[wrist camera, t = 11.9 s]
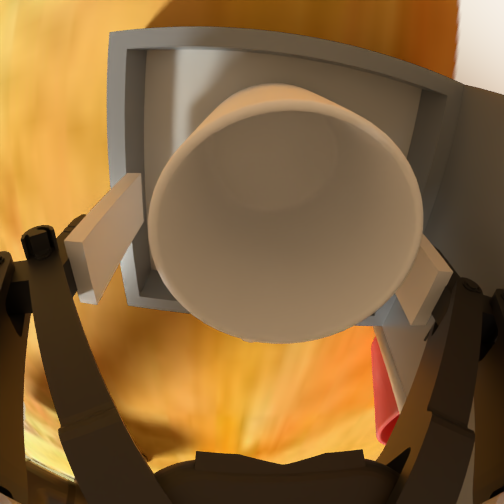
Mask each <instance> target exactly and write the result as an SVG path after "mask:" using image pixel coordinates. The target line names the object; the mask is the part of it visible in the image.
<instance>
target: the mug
mask: <svg viewBox="0 0 504 504" xmlns="http://www.w3.org/2000/svg"><path fill="white" fill-rule="evenodd" d="M422 232H423V205H422V197H421V193H420V190H419V186H418V182H417V179H416V177H415V175H414V172H413V170H412V168H411V166H410V164H409V162H408V161H407V159H406V158H405V156H404V155H403V153H402V152H401V150H400V149H399V148H398V146H397V145H396V144H395V143H394V142H393V141H392V140H391V139H390V138H389V137H388V136H387V135H386V134H385V133H384V132H383V131H381V130H380V129H379V128H378V127H376V126H375V125H374V124H373V123H371V122H369V121H368V120H366V119H364V118H363V117H361V116H359V115H357V114H355V113H354V112H352V111H350V110H348V109H346V108H344V107H342V106H340V105H338V104H336V103H334V102H332V101H330V100H328V99H326V98H324V97H322V96H319V95H317V94H315V93H313V92H311V91H309V90H306V89H304V88H301V87H298V86H295V85H290V84H284V83H265V84H258V85H254V86H250V87H248V88H245V89H242V90H240V91H238V92H236V93H235V94H233V95H231V96H230V97H228V98H227V99H226V100H224V101H223V102H222V103H221V104H220V105H219V106H218V107H217V108H216V109H215V110H214V111H213V112H212V113H211V114H210V115H209V116H208V117H207V118H206V119H205V120H204V121H203V122H202V123H201V124H200V125H199V126H198V127H197V129H196V130H195V131H194V132H193V133H192V134H191V135H190V136H189V137H188V138H187V139H186V141H185V142H184V143H183V144H182V145H181V146H180V147H179V148H178V149H177V151H176V152H175V153H174V154H173V155H172V157H171V158H170V160H169V161H168V163H167V164H166V166H165V167H164V169H163V171H162V173H161V175H160V177H159V179H158V181H157V183H156V186H155V188H154V192H153V195H152V199H151V202H150V208H149V216H148V238H149V244H150V249H151V254H152V257H153V260H154V263H155V266H156V269H157V271H158V273H159V275H160V277H161V279H162V281H163V283H164V284H165V286H166V287H167V288H168V290H169V291H170V293H171V294H172V295H173V296H174V298H175V299H176V300H177V301H178V302H179V303H180V304H181V305H182V306H183V307H184V308H185V309H186V310H187V311H189V312H190V313H191V314H192V315H193V316H195V317H196V318H198V319H199V320H201V321H202V322H204V323H205V324H207V325H209V326H211V327H213V328H215V329H217V330H219V331H221V332H224V333H226V334H229V335H231V336H235V337H238V338H241V339H242V340H244V341H247V342H262V343H274V344H283V343H299V342H306V341H312V340H317V339H320V338H324V337H327V336H331V335H334V334H336V333H339V332H341V331H344V330H346V329H348V328H350V327H352V326H354V325H356V324H358V323H359V322H361V321H363V320H364V319H366V318H367V317H369V316H370V315H372V314H373V313H374V312H375V311H377V310H378V309H379V308H380V307H382V306H383V305H384V304H385V303H386V302H387V301H388V300H389V299H390V298H391V297H392V296H393V295H394V293H395V292H396V291H397V290H398V288H399V287H400V286H401V285H402V283H403V282H404V280H405V278H406V277H407V275H408V274H409V272H410V270H411V268H412V266H413V263H414V261H415V259H416V256H417V253H418V250H419V247H420V243H421V238H422Z"/></svg>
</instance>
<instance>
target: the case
mask: <svg viewBox="0 0 504 504" xmlns="http://www.w3.org/2000/svg"><path fill="white" fill-rule="evenodd" d="M265 83H284V84H290V85H295V86H298V87H301V88H304V89H306V90H309V91H311V92H313V93H315V94H317V95H319V96H322V97H324V98H326V99H328V100H330V101H332V102H334V103H336V104H338V105H340V106H342V107H344V108H346V109H348V110H350V111H352V112H354V113H355V114H357V115H359V116H361V117H363V118H364V119H366V120H368V121H369V122H371V123H373V124H374V125H375V126H376V127H378V128H379V129H380V130H381V131H383V132H384V133H385V134H386V135H387V136H388V137H389V138H390V139H391V140H392V141H393V142H394V143H395V144H396V145H397V146H398V148H399V149H400V150H401V152H402V153H403V155H404V156H405V158H406V159H407V161H408V162H409V164H410V166H411V168H412V170H413V172H414V175H415V177H416V179H417V182H418V186H419V190H420V193H421V197H422V205H423V232H422V233H423V234H424V235H425V237H426V238H427V239H428V240H429V241H430V243H431V244H432V245H434V246H435V247H436V248H437V249H439V250H440V252H441V253H442V254H443V255H444V258H446V259H447V260H448V262H449V263H450V264H451V266H452V267H453V268H454V270H455V271H456V272H457V274H458V275H459V276H460V277H465V278H468V279H471V280H472V281H474V282H475V283H477V284H478V285H479V286H480V288H481V289H482V292H483V295H486V296H489V297H492V296H493V294H494V292H495V291H496V289H503V290H504V95H502V94H498V93H495V92H491V91H488V90H484V89H480V88H476V87H472V86H468V85H464V84H462V83H460V82H457V81H455V80H453V79H451V78H448V77H446V76H444V75H441V74H439V73H436V72H434V71H431V70H428V69H426V68H423V67H421V66H418V65H415V64H412V63H409V62H406V61H403V60H400V59H397V58H394V57H391V56H388V55H385V54H381V53H378V52H374V51H371V50H367V49H363V48H360V47H356V46H352V45H348V44H343V43H339V42H334V41H330V40H325V39H320V38H314V37H309V36H303V35H297V34H290V33H283V32H275V31H267V30H257V29H245V28H230V27H160V28H145V29H134V30H124V31H116V32H110V35H109V49H108V69H107V138H108V159H109V174H110V186H111V189H112V187H113V186H114V185H115V184H116V183H117V182H118V181H119V180H120V179H121V178H122V177H124V176H125V175H126V174H127V173H141V183H142V202H143V217H144V222H143V224H142V225H141V227H140V229H139V230H138V232H137V234H136V235H135V237H134V239H133V240H132V242H131V244H130V246H129V247H128V249H127V251H126V253H125V254H124V256H123V258H122V260H121V261H120V266H121V272H122V277H123V283H124V288H125V294H126V299H127V304H128V306H135V307H142V308H149V309H157V310H165V311H173V312H181V313H189V314H191V313H190V312H189V311H187V310H186V309H185V308H184V307H183V306H182V305H181V304H180V303H179V302H178V301H177V300H176V299H175V298H174V296H173V295H172V294H171V293H170V291H169V290H168V288H167V287H166V286H165V284H164V283H163V281H162V279H161V277H160V275H159V273H158V271H157V269H156V266H155V263H154V260H153V257H152V254H151V249H150V244H149V238H148V216H149V208H150V202H151V199H152V195H153V192H154V188H155V186H156V183H157V181H158V179H159V177H160V175H161V173H162V171H163V169H164V167H165V166H166V164H167V163H168V161H169V160H170V158H171V157H172V155H173V154H174V153H175V152H176V151H177V149H178V148H179V147H180V146H181V145H182V144H183V143H184V142H185V141H186V139H187V138H188V137H189V136H190V135H191V134H192V133H193V132H194V131H195V130H196V129H197V127H198V126H199V125H200V124H201V123H202V122H203V121H204V120H205V119H206V118H207V117H208V116H209V115H210V114H211V113H212V112H213V111H214V110H215V109H216V108H217V107H218V106H219V105H220V104H221V103H222V102H223V101H224V100H226V99H227V98H228V97H230V96H231V95H233V94H235V93H236V92H238V91H240V90H242V89H245V88H248V87H250V86H254V85H258V84H265ZM434 322H435V319H434V317H433V316H432V314H431V316H430V317H429V319H428V321H427V323H426V324H425V325H410V323H409V321H408V319H407V316H406V314H405V312H404V310H403V308H402V306H401V304H400V302H399V300H398V298H397V296H396V294H395V293H394V295H393V296H392V297H391V298H390V299H389V300H388V301H387V302H386V303H385V304H384V305H383V306H382V307H380V308H379V309H378V310H377V311H375V312H374V313H373V314H372V315H370V316H369V317H367V318H366V319H364V320H363V321H361V322H359V323H358V324H356V325H355V326H373V329H374V332H375V335H376V338H377V341H378V344H379V347H380V350H381V353H382V356H383V360H384V363H385V366H386V369H387V372H388V376H389V379H390V382H391V386H392V389H393V393H394V396H395V400H396V403H397V407H398V410H399V414H400V413H401V411H402V408H403V406H404V404H405V401H406V399H407V396H408V394H409V391H410V389H411V386H412V383H413V381H414V378H415V375H416V373H417V370H418V367H419V364H420V361H421V358H422V355H423V352H424V349H425V346H426V343H427V340H428V339H427V340H426V341H424V338H425V337H426V335H427V334H428V332H429V330H430V329H431V327H432V325H433V324H434ZM496 340H497V338H496V339H495V341H494V342H496ZM468 429H471V430H473V431H474V432H475V414H474V397H473V402H472V407H471V412H470V417H469V422H468ZM474 454H475V442H474V446H473V451H472V455H471V458H470V462H469V466H468V469H467V473H466V476H465V479H464V482H463V486H462V489H461V492H460V495H459V498H458V500H457V503H456V504H473V495H472V492H473V474H474Z"/></svg>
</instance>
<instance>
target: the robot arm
mask: <svg viewBox="0 0 504 504" xmlns="http://www.w3.org/2000/svg"><path fill="white" fill-rule="evenodd" d="M143 222H144V217H143V202H142V183H141V173H127V174H126V175H125V176H124V177H122V178H121V179H120V180H119V181H118V182H117V183H116V184H115V185H114V186H113V187H112V189H111V190H110V191H109V192H108V193H107V194H106V195H105V196H104V197H103V198H102V199H101V200H100V201H99V202H98V203H97V204H96V205H95V206H94V207H93V208H92V209H91V211H90V212H89V213H88V214H87V215H85V214H82V215H81V216H79V217H77V218H75V219H74V220H73V221H72V222H71V223H70V224H69V225H68V227H66V228H65V229H64V231H63V232H62V233H61V234H60V235H59V236H58V237H57V238H56V236H55V232H54V229H53V227H51V226H49V225H41V226H36V227H34V228H31V229H29V230H28V231H26V232H25V233H24V234H23V235H22V238H21V242H22V245H23V249H24V252H25V255H26V258H27V260H26V261H18V262H13V260H12V257H11V254H10V253H9V252H6V251H2V252H0V504H456V503H457V500H458V498H459V495H460V492H461V489H462V486H463V482H464V479H465V476H466V473H467V469H468V466H469V462H470V458H471V455H472V451H473V446H474V442H475V454H474V474H473V492H472V495H473V504H504V290H503V289H496V291H495V292H494V294H493V296H492V297H489V296H486V295H483V292H482V289H481V288H480V286H479V285H478V284H477V283H475V282H474V281H472V280H471V279H468V278H465V277H460V276H459V275H458V274H457V272H456V271H455V270H454V268H453V267H452V266H451V264H450V263H449V262H448V260H447V259H446V258H444V255H443V254H442V253H441V252H440V250H439V249H437V248H436V247H435V246H434V245H432V244H431V243H430V241H429V240H428V239H427V238H426V237H425V235H424V234H423V233H422V238H421V243H420V247H419V250H418V253H417V256H416V259H415V261H414V263H413V266H412V268H411V270H410V272H409V274H408V275H407V277H406V278H405V280H404V282H403V283H402V285H401V286H400V287H399V288H398V290H397V291H396V292H395V294H396V296H397V298H398V300H399V302H400V304H401V306H402V308H403V310H404V312H405V314H406V316H407V319H408V321H409V323H410V325H425V324H426V323H427V321H428V319H429V317H430V316H431V314H432V316H433V317H434V319H435V322H434V324H433V325H432V327H431V329H430V330H429V332H428V334H427V335H426V337H425V338H424V341H426V340H427V339H428V340H427V343H426V346H425V349H424V352H423V355H422V358H421V361H420V364H419V367H418V370H417V373H416V375H415V378H414V381H413V383H412V386H411V389H410V391H409V394H408V396H407V399H406V401H405V404H404V406H403V408H402V411H401V413H400V415H399V418H398V420H397V422H396V424H395V427H394V429H393V431H392V433H391V435H390V437H389V439H388V441H387V443H386V446H385V448H384V449H383V451H382V453H381V454H380V456H379V457H378V459H377V460H376V461H372V460H368V459H364V455H363V449H361V450H353V451H344V452H334V453H324V454H321V455H318V456H315V457H311V458H308V459H305V460H301V461H298V462H294V463H290V464H285V465H281V464H276V463H272V462H267V461H263V460H259V459H255V458H251V457H247V456H243V455H240V454H224V453H211V452H200V451H196V459H195V460H191V461H185V462H180V463H176V464H173V465H171V466H168V467H166V468H163V469H161V470H159V471H158V472H156V473H153V472H152V470H151V469H150V467H149V465H148V464H147V459H146V457H145V456H143V455H142V454H141V452H140V451H139V449H138V447H137V445H136V444H135V442H134V440H133V438H132V436H131V435H130V433H129V431H128V429H127V427H126V425H125V423H124V421H123V420H122V418H121V416H120V414H119V412H118V410H117V408H116V406H115V404H114V401H113V399H112V397H111V395H110V393H109V391H108V389H107V387H106V384H105V382H104V380H103V378H102V375H101V373H100V371H99V368H98V366H97V364H96V361H95V359H94V356H93V354H92V351H91V349H90V346H89V344H88V341H87V338H86V336H85V333H84V330H83V327H82V325H81V322H80V319H79V316H78V313H77V310H76V307H75V304H74V301H73V296H74V295H75V293H76V291H77V292H78V296H79V299H80V302H82V303H89V304H95V305H98V303H99V301H100V299H101V297H102V295H103V293H104V291H105V289H106V287H107V285H108V283H109V282H110V280H111V278H112V276H113V274H114V272H115V271H116V269H117V267H118V265H119V263H120V261H121V260H122V258H123V256H124V254H125V253H126V251H127V249H128V247H129V246H130V244H131V242H132V240H133V239H134V237H135V235H136V234H137V232H138V230H139V229H140V227H141V225H142V224H143ZM31 313H33V316H34V322H35V328H36V333H37V339H38V343H39V348H40V353H41V357H42V362H43V366H44V370H45V374H46V378H47V381H48V385H49V389H50V392H51V395H52V399H53V402H54V405H55V408H56V412H57V415H58V418H59V421H60V424H61V428H59V429H58V433H59V437H60V441H61V444H62V446H63V449H64V452H65V454H66V457H67V459H68V462H69V464H70V466H71V469H72V471H73V473H74V476H75V479H74V482H72V481H70V480H67V479H65V478H63V477H61V476H59V475H57V474H55V473H53V472H51V471H49V470H47V469H45V468H43V467H41V466H39V465H37V464H35V463H34V462H32V461H31V460H30V459H26V458H25V448H24V427H23V394H24V372H25V358H26V348H27V338H28V330H29V323H30V316H31ZM496 338H497V340H496V342H494V341H495V339H496ZM473 397H474V414H475V432H474V431H473V430H471V429H468V422H469V417H470V412H471V407H472V402H473Z"/></svg>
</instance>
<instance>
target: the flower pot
mask: <svg viewBox="0 0 504 504" xmlns="http://www.w3.org/2000/svg"><path fill="white" fill-rule="evenodd" d="M371 355H372V374H373V388H374V403H375V423H376V437H377V439H378V441H379V442H380V443H382V444H384V445H386V443H387V441H388V439H389V437H390V435H391V433H392V431H393V429H394V427H395V424H396V422H397V420H398V418H399V415H400V414H399V410H398V407H397V403H396V400H395V396H394V393H393V389H392V386H391V382H390V379H389V376H388V372H387V369H386V366H385V363H384V360H383V356H382V353H381V350H380V347H379V344H378V341H377V338H376V337H375V338H374V340H373V343H372V347H371Z"/></svg>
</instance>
